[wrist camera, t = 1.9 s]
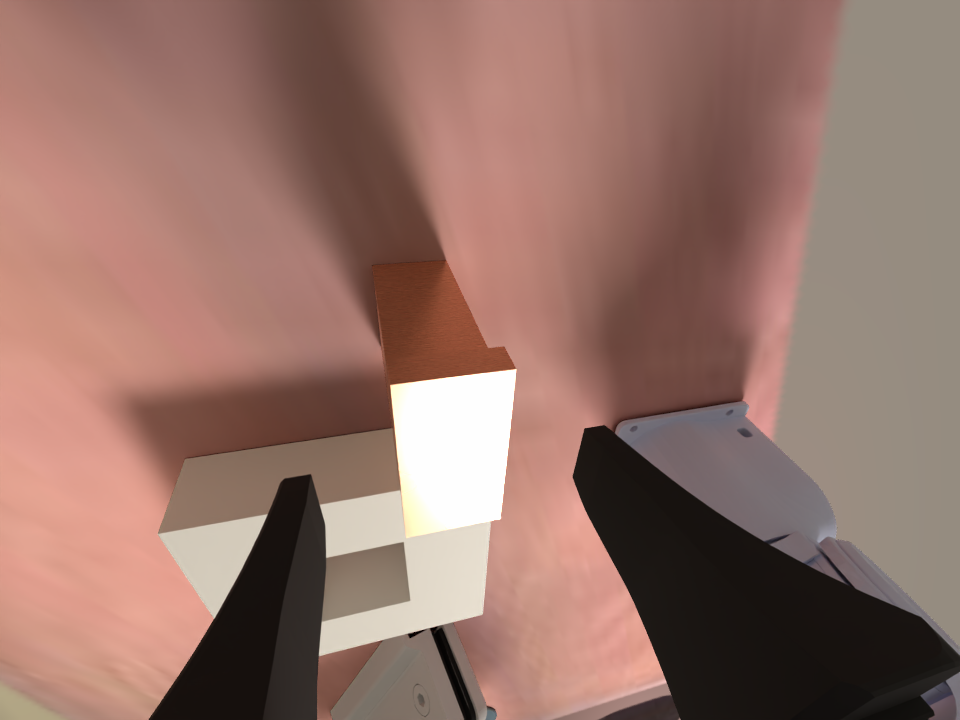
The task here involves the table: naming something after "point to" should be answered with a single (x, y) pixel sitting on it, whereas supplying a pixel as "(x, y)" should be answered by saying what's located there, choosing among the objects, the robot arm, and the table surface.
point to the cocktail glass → (491, 714)
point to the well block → (329, 537)
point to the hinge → (415, 681)
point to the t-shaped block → (442, 399)
